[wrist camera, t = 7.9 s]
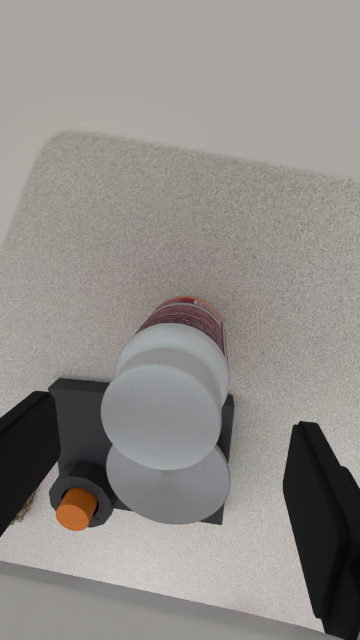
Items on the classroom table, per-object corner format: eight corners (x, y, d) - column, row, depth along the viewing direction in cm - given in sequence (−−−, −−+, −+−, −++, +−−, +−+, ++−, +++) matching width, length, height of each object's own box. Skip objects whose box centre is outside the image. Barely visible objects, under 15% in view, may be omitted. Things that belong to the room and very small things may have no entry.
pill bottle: (141, 303, 21) (65, 366, 11) (216, 286, 20) (215, 339, 10) (161, 371, 23) (112, 485, 12) (231, 359, 22) (246, 474, 11)
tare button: (68, 509, 25) (57, 528, 23) (65, 484, 24) (53, 502, 22) (98, 513, 25) (89, 533, 23) (96, 489, 24) (87, 507, 22)
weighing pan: (111, 508, 24) (109, 514, 23) (105, 412, 21) (102, 417, 20) (224, 525, 22) (224, 533, 22) (235, 427, 20) (235, 432, 19)
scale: (71, 489, 29) (52, 521, 25) (58, 377, 25) (33, 399, 21) (221, 511, 27) (221, 550, 23) (233, 395, 23) (235, 421, 19)
